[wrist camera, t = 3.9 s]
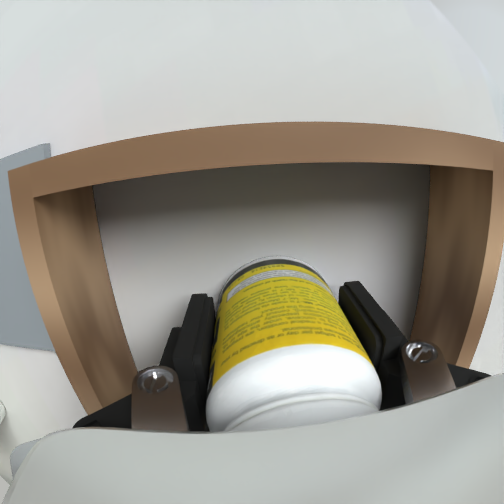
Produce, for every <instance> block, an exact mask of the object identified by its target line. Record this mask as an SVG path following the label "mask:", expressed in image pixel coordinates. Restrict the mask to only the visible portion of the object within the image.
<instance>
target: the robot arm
mask: <svg viewBox="0 0 504 504" xmlns="http://www.w3.org/2000/svg"><path fill="white" fill-rule="evenodd" d="M338 304H339V306H340V308H341V310H342V311H343V313H344V315H345V317H346V318H347V320H348V322H349V324H350V325H351V327H352V329H353V331H354V332H355V334H356V336H357V338H358V339H359V341H360V343H361V345H362V346H363V348H364V350H365V352H366V353H367V355H368V357H369V359H370V360H371V362H372V364H373V366H374V368H375V371H376V373H377V375H378V377H379V380H380V383H381V389H382V401H381V406H380V410H379V411H378V412H373V413H369V414H364V415H360V416H355V417H350V418H345V419H339V420H333V421H327V422H321V423H315V424H308V425H300V426H292V427H282V428H272V429H260V430H244V431H216V432H210V430H209V427H208V424H207V420H206V395H207V388H208V378H209V371H210V363H211V354H212V345H213V339H214V330H215V323H216V317H215V310H214V303H213V298H212V297H208V296H207V294H192V296H191V299H190V302H189V306H188V309H187V312H186V315H185V318H184V321H183V325H182V327H174V328H172V330H171V333H170V336H169V338H168V341H167V344H166V347H165V350H164V353H163V356H162V359H161V362H160V365H159V366H152V367H148V368H146V369H144V370H141V371H140V372H139V373H138V374H136V376H135V377H134V378H133V382H132V394H130V395H128V396H126V397H124V398H122V399H120V400H118V401H116V402H114V403H112V404H110V405H108V406H106V407H104V408H102V409H100V410H98V411H96V412H94V413H92V414H90V415H88V416H86V417H84V418H82V419H80V420H79V421H77V423H76V424H75V425H74V426H73V428H72V429H65V430H60V431H56V432H53V433H50V434H48V435H46V436H44V437H43V438H40V439H37V440H34V441H30V442H27V443H23V444H21V445H19V446H17V447H16V448H15V449H14V450H13V451H12V453H11V455H10V464H11V470H12V476H13V480H12V482H11V484H10V487H9V489H8V491H7V493H6V495H5V498H4V500H3V502H2V504H504V373H502V374H497V375H494V376H491V375H489V374H486V373H482V372H478V371H475V370H471V369H467V368H464V367H460V366H456V365H453V364H449V363H446V361H445V358H444V356H443V354H442V351H441V350H440V348H439V347H438V346H437V345H435V344H434V343H432V342H430V341H426V340H411V341H409V342H408V340H407V339H406V338H405V337H404V335H403V334H402V333H401V331H400V330H399V329H398V328H397V326H396V325H395V324H394V322H393V321H392V320H391V319H390V317H389V316H388V315H387V314H386V312H385V311H384V310H382V309H381V307H380V306H379V305H378V304H377V302H376V301H375V300H374V299H373V297H372V296H371V295H370V294H369V292H368V291H367V290H366V289H365V288H364V286H363V285H362V284H361V283H360V282H359V281H352V282H345V283H344V286H340V289H339V302H338Z"/></svg>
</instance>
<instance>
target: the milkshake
mask: <svg viewBox="0 0 504 504" xmlns="http://www.w3.org/2000/svg"><path fill="white" fill-rule="evenodd" d="M5 414H6V412H5V407H4V406H3V404H2V403H1V401H0V424H1V422H2V420H3V418H4V416H5Z"/></svg>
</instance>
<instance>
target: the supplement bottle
mask: <svg viewBox="0 0 504 504" xmlns="http://www.w3.org/2000/svg"><path fill="white" fill-rule="evenodd" d="M381 401H382V389H381V383H380V380H379V377H378V375H377V373H376V371H375V368H374V366H373V364H372V362H371V360H370V359H369V357H368V355H367V353H366V352H365V350H364V348H363V346H362V345H361V343H360V341H359V339H358V338H357V336H356V334H355V332H354V331H353V329H352V327H351V325H350V324H349V322H348V320H347V318H346V317H345V315H344V313H343V311H342V310H341V308H340V306H339V304H338V303H337V301H336V299H335V297H334V296H333V294H332V292H331V290H330V289H329V287H328V285H327V284H326V282H325V280H324V279H323V278H322V276H321V275H320V274H319V273H318V272H317V271H316V270H315V269H314V268H313V267H311V266H310V265H308V264H307V263H305V262H303V261H301V260H298V259H295V258H291V257H286V256H270V257H264V258H260V259H257V260H254V261H252V262H250V263H248V264H246V265H244V266H243V267H241V268H240V269H239V270H237V271H236V272H235V273H234V274H233V275H232V276H231V277H230V278H229V280H228V281H227V282H226V284H225V285H224V287H223V289H222V291H221V294H220V297H219V302H218V307H217V314H216V323H215V330H214V339H213V345H212V354H211V363H210V371H209V378H208V388H207V395H206V420H207V424H208V427H209V430H210V432H216V431H244V430H260V429H272V428H282V427H292V426H300V425H308V424H315V423H321V422H327V421H333V420H339V419H345V418H350V417H355V416H360V415H364V414H369V413H373V412H378V411H379V410H380V406H381Z"/></svg>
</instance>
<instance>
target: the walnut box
mask: <svg viewBox="0 0 504 504" xmlns="http://www.w3.org/2000/svg"><path fill="white" fill-rule="evenodd" d="M315 162H380V163H408V164H427V165H430V195H429V214H428V228H427V239H426V248H425V257H424V265H423V272H422V279H421V285H420V291H419V297H418V303H417V308H416V313H415V318H414V323H413V328H412V332H411V336H410V341H411V340H426V341H430V342H432V343H434V344H435V345H437V346H438V347H439V348H440V350H441V351H442V354H443V356H444V358H445V361H446V363H449V364H453V365H456V366H460V367H464V368H467V369H469V367H470V364H471V362H472V359H473V356H474V354H475V351H476V348H477V345H478V343H479V340H480V337H481V334H482V331H483V328H484V324H485V321H486V318H487V314H488V311H489V307H490V304H491V300H492V296H493V292H494V288H495V284H496V280H497V275H498V270H499V265H500V260H501V255H502V249H503V243H504V142H500V141H495V140H490V139H486V138H481V137H476V136H470V135H465V134H459V133H453V132H446V131H440V130H432V129H425V128H416V127H407V126H397V125H385V124H370V123H350V122H274V123H254V124H239V125H226V126H215V127H206V128H197V129H189V130H181V131H174V132H167V133H160V134H154V135H148V136H142V137H136V138H131V139H126V140H121V141H116V142H111V143H106V144H102V145H97V146H93V147H88V148H84V149H80V150H76V151H72V152H68V153H65V154H61V155H57V156H54V157H50V158H47V159H43V160H40V161H37V162H34V163H30V164H27V165H24V166H21V167H18V168H15V169H12V170H9V171H8V180H9V188H10V195H11V201H12V208H13V213H14V219H15V224H16V229H17V234H18V238H19V243H20V247H21V251H22V255H23V259H24V263H25V267H26V270H27V274H28V277H29V280H30V284H31V287H32V290H33V293H34V296H35V299H36V302H37V305H38V308H39V311H40V314H41V316H42V319H43V322H44V324H45V327H46V330H47V332H48V335H49V337H50V340H51V342H52V344H53V347H54V349H55V351H56V354H57V356H58V358H59V360H60V362H61V365H62V367H63V369H64V371H65V373H66V375H67V377H68V379H69V381H70V383H71V385H72V387H73V389H74V391H75V393H76V395H77V396H78V398H79V400H80V402H81V404H82V405H83V407H84V409H85V411H86V412H87V414H88V415H90V414H92V413H94V412H96V411H98V410H100V409H102V408H104V407H106V406H108V405H110V404H112V403H114V402H116V401H118V400H120V399H122V398H124V397H126V396H128V395H130V394H132V382H133V378H134V377H135V376H136V374H138V372H137V369H136V366H135V363H134V360H133V358H132V355H131V352H130V349H129V346H128V343H127V339H126V336H125V333H124V330H123V327H122V323H121V320H120V316H119V313H118V309H117V306H116V302H115V298H114V295H113V291H112V287H111V283H110V279H109V274H108V270H107V266H106V261H105V257H104V252H103V247H102V242H101V237H100V232H99V226H98V221H97V215H96V209H95V202H94V195H93V188H92V185H96V184H101V183H107V182H113V181H119V180H125V179H132V178H138V177H145V176H152V175H160V174H167V173H175V172H184V171H193V170H202V169H213V168H224V167H236V166H250V165H265V164H285V163H315Z"/></svg>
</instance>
